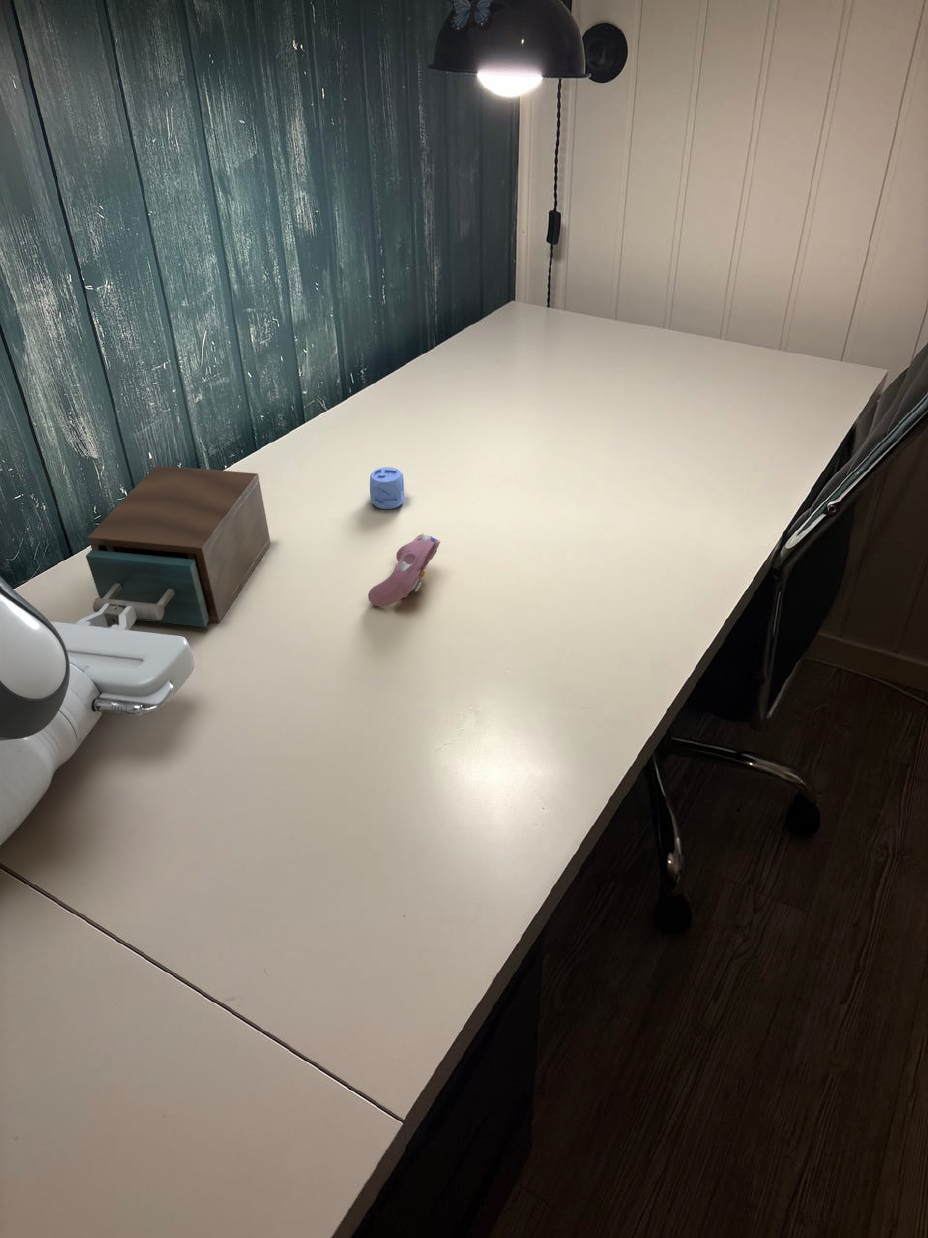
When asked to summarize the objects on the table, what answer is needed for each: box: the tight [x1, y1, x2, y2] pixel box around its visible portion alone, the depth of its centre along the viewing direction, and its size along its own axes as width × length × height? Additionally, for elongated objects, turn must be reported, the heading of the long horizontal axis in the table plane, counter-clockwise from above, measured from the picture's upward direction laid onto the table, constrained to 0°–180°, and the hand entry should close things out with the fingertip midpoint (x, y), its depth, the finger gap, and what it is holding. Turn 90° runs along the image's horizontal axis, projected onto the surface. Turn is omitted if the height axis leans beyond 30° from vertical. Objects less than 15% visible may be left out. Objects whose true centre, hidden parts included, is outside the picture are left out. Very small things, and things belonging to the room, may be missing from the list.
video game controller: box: [367, 532, 441, 607], centre depth 102 cm, size 10×5×7 cm, turn 161°
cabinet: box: [87, 465, 272, 624], centre depth 104 cm, size 16×13×10 cm
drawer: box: [85, 546, 210, 628], centre depth 100 cm, size 19×12×8 cm, turn 169°
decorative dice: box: [369, 466, 405, 510], centre depth 118 cm, size 4×4×4 cm
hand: (122, 609), depth 92 cm, fingers closed, pressing on drawer
